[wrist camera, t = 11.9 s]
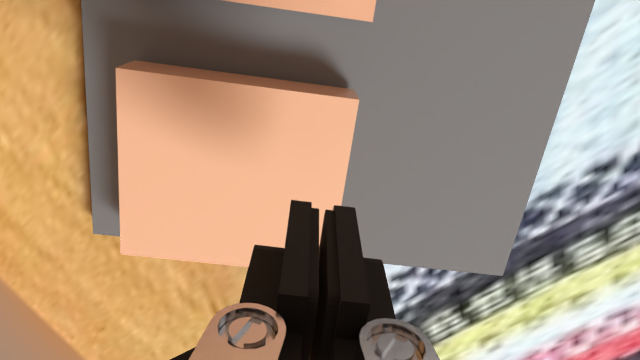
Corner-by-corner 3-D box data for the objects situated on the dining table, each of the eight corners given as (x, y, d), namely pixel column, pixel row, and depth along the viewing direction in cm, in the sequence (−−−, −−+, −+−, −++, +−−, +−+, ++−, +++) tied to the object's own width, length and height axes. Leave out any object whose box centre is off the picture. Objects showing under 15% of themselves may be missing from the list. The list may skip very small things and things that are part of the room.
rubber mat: (654, -209, 15) (667, -217, 14) (497, 268, 21) (502, 275, 21) (73, -321, 13) (63, -335, 13) (99, 227, 20) (93, 233, 19)
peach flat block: (359, 99, 16) (115, 67, 15) (329, 275, 18) (120, 254, 18) (353, 87, 17) (137, 59, 17) (327, 247, 20) (139, 227, 19)
